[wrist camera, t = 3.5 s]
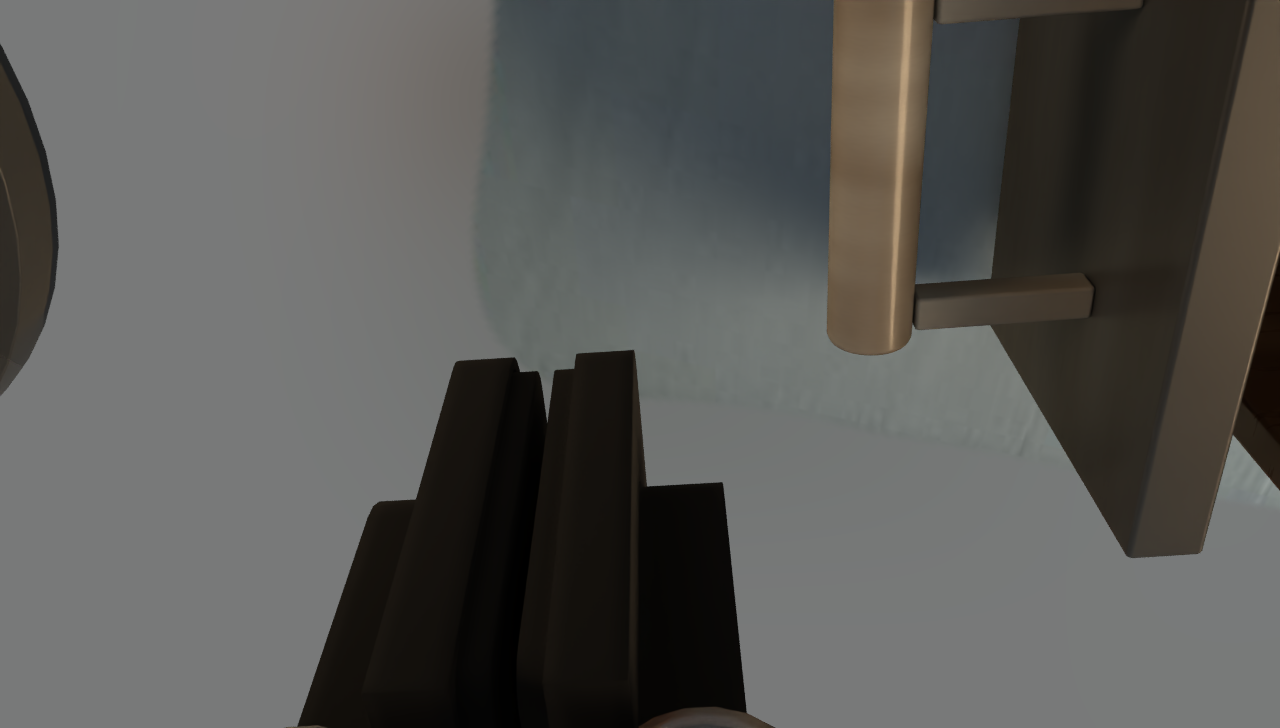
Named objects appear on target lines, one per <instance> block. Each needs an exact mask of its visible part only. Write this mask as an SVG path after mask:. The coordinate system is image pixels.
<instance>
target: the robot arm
mask: <svg viewBox="0 0 1280 728" xmlns="http://www.w3.org/2000/svg"><path fill="white" fill-rule="evenodd" d="M735 605H736V604H735V595H734V585H733V575H732V565H731V555H730V545H729V535H728V526H727V516H726V507H725V498H724V488H723V483H722V482H720V483H703V484H684V485H667V486H649V487H647V483H646V472H645V460H644V449H643V437H642V426H641V414H640V403H639V392H638V380H637V369H636V359H635V353H634V350H628V351H612V352H595V353H579V354H576V359H575V369H565V370H555V372H554V378H553V385H552V393H551V400H550V408H549V416H548V423H547V418H546V412H545V404H544V398H543V391H542V384H541V378H540V375H539V373H538V371H532V372H520V370H519V366H518V363H517V360H516V359H515V357H514V358H497V359H481V360H466V361H457V362H456V363H455V365H454V368H453V371H452V375H451V378H450V381H449V385H448V388H447V392H446V396H445V399H444V403H443V406H442V410H441V413H440V417H439V420H438V424H437V427H436V431H435V434H434V438H433V441H432V445H431V448H430V452H429V456H428V459H427V463H426V466H425V470H424V473H423V477H422V480H421V484H420V487H419V491H418V494H417V498H416V500H400V501H381V502H378V503H377V504H376V505H374V506H373V508H372V510H371V512H370V514H369V516H368V518H367V521H366V524H365V527H364V530H363V533H362V536H361V539H360V542H359V545H358V548H357V551H356V554H355V557H354V560H353V563H352V566H351V569H350V572H349V575H348V578H347V581H346V584H345V587H344V590H343V593H342V596H341V599H340V602H339V604H338V607H337V611H336V613H335V617H334V619H333V622H332V625H331V628H330V631H329V634H328V637H327V640H326V643H325V646H324V649H323V652H322V655H321V658H320V661H319V664H318V667H317V670H316V673H315V676H314V679H313V682H312V685H311V688H310V691H309V694H308V697H307V700H306V703H305V705H304V708H303V712H302V714H301V717H300V720H299V723H298V726H297V727H286V728H775V727H773V726H771V725H769V724H767V723H765V722H763V721H761V720H759V719H757V718H755V717H753V716H751V715H749V714H747V711H746V702H745V692H744V683H743V672H742V662H741V653H740V643H739V633H738V623H737V614H736V606H735Z"/></svg>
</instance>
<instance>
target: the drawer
mask: <svg viewBox="0 0 1280 728" xmlns="http://www.w3.org/2000/svg"><path fill="white" fill-rule="evenodd" d="M1015 18H1020V21H1019V30H1018V39H1017V48H1016V58H1015V67H1014V76H1013V85H1012V94H1011V103H1010V112H1009V121H1008V130H1007V139H1006V148H1005V157H1004V166H1003V175H1002V184H1001V194H1000V203H999V212H998V221H997V230H996V239H995V248H994V257H993V266H992V275H991V279H983V280H968V281H954V282H940V283H926V284H915V278H916V263H917V249H918V234H919V220H920V205H921V191H922V176H923V162H924V147H925V133H926V118H927V104H928V89H929V75H930V60H931V46H932V31H933V19H934V20H935V21H936V22H937V23H938V24H951V23H964V22H976V21H989V20H1002V19H1015ZM912 322H913V325H914V327H915V329H917V330H926V329H940V328H955V327H969V326H983V325H991V327H992V329H993V330H994V332H995V334H996V336H997V337H998V339H999V341H1000V342H1001V344H1002V346H1003V347H1004V349H1005V351H1006V352H1007V354H1008V356H1009V358H1010V359H1011V361H1012V363H1013V364H1014V366H1015V368H1016V369H1017V371H1018V373H1019V374H1020V376H1021V378H1022V380H1023V381H1024V383H1025V385H1026V386H1027V388H1028V390H1029V391H1030V393H1031V395H1032V397H1033V398H1034V400H1035V402H1036V403H1037V405H1038V407H1039V408H1040V410H1041V412H1042V413H1043V415H1044V417H1045V419H1046V420H1047V422H1048V424H1049V425H1050V427H1051V429H1052V430H1053V432H1054V434H1055V435H1056V437H1057V439H1058V441H1059V442H1060V444H1061V446H1062V447H1063V449H1064V451H1065V452H1066V454H1067V456H1068V457H1069V459H1070V461H1071V463H1072V464H1073V466H1074V468H1075V469H1076V471H1077V473H1078V474H1079V476H1080V478H1081V480H1082V481H1083V483H1084V485H1085V486H1086V488H1087V490H1088V491H1089V493H1090V495H1091V496H1092V498H1093V500H1094V502H1095V503H1096V505H1097V507H1098V508H1099V510H1100V512H1101V513H1102V515H1103V517H1104V518H1105V520H1106V522H1107V524H1108V525H1109V527H1110V529H1111V530H1112V532H1113V534H1114V535H1115V537H1116V539H1117V540H1118V542H1119V544H1120V546H1121V547H1122V549H1123V551H1124V552H1125V554H1126V556H1128V557H1131V558H1141V557H1156V556H1172V555H1187V554H1198V553H1200V552H1201V551H1202V549H1203V545H1204V541H1205V537H1206V534H1207V530H1208V526H1209V522H1210V519H1211V514H1212V511H1213V507H1214V503H1215V500H1216V496H1217V492H1218V488H1219V485H1220V481H1221V477H1222V473H1223V469H1224V466H1225V462H1226V458H1227V454H1228V451H1229V447H1230V443H1231V439H1232V436H1233V435H1234V436H1235V437H1236V439H1237V440H1238V441H1239V442H1240V443H1241V445H1242V446H1243V447H1244V448H1245V449H1246V451H1247V452H1248V453H1249V454H1250V455H1251V457H1252V458H1253V459H1254V460H1255V461H1256V463H1257V464H1258V465H1259V466H1260V467H1261V469H1262V470H1263V471H1264V472H1265V473H1266V475H1267V476H1268V477H1269V478H1270V479H1271V481H1272V482H1273V483H1274V484H1275V485H1276V487H1277V488H1278V489H1279V490H1280V0H834V16H833V64H832V111H831V158H830V206H829V253H828V300H827V334H828V337H829V339H830V340H831V342H832V343H833V344H834V345H835V346H837V347H838V348H840V349H842V350H844V351H847V352H850V353H854V354H859V355H883V354H888V353H892V352H895V351H897V350H899V349H901V348H903V347H904V346H905V345H906V344H907V343H908V341H909V340H910V338H911V334H912Z"/></svg>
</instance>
